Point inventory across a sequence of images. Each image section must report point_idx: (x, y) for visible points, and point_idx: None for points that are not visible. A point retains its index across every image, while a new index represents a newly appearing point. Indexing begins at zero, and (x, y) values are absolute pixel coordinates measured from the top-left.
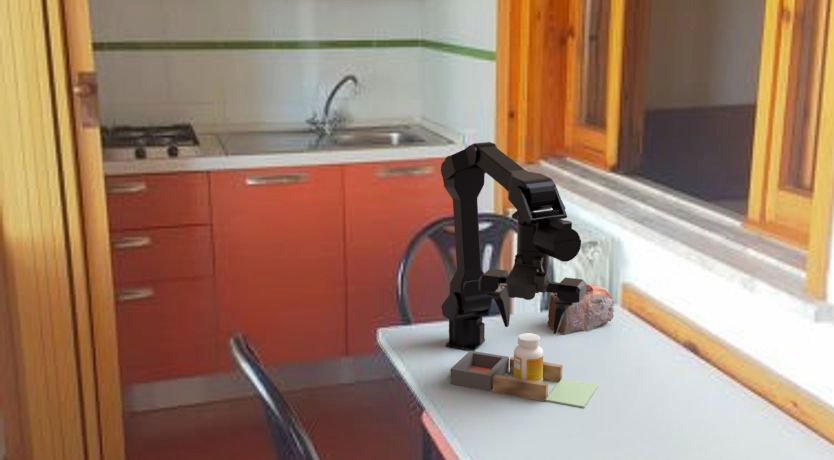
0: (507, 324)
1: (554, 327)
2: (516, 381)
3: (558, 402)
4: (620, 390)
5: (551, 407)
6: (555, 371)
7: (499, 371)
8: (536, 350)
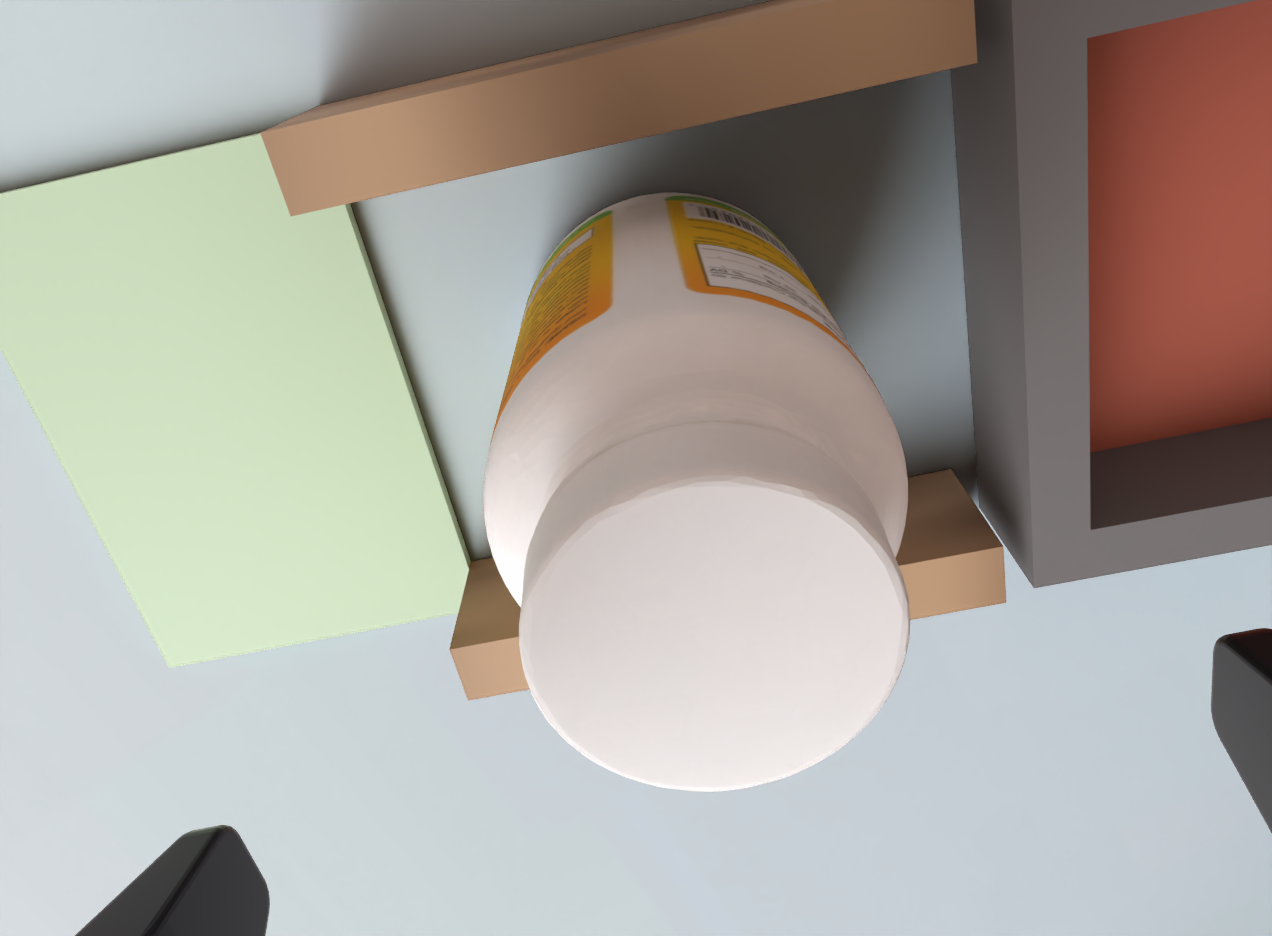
0: (1243, 686)
1: (136, 932)
2: (643, 46)
3: (187, 149)
4: (2, 691)
5: (179, 9)
6: (506, 608)
7: (1002, 289)
8: (541, 511)
